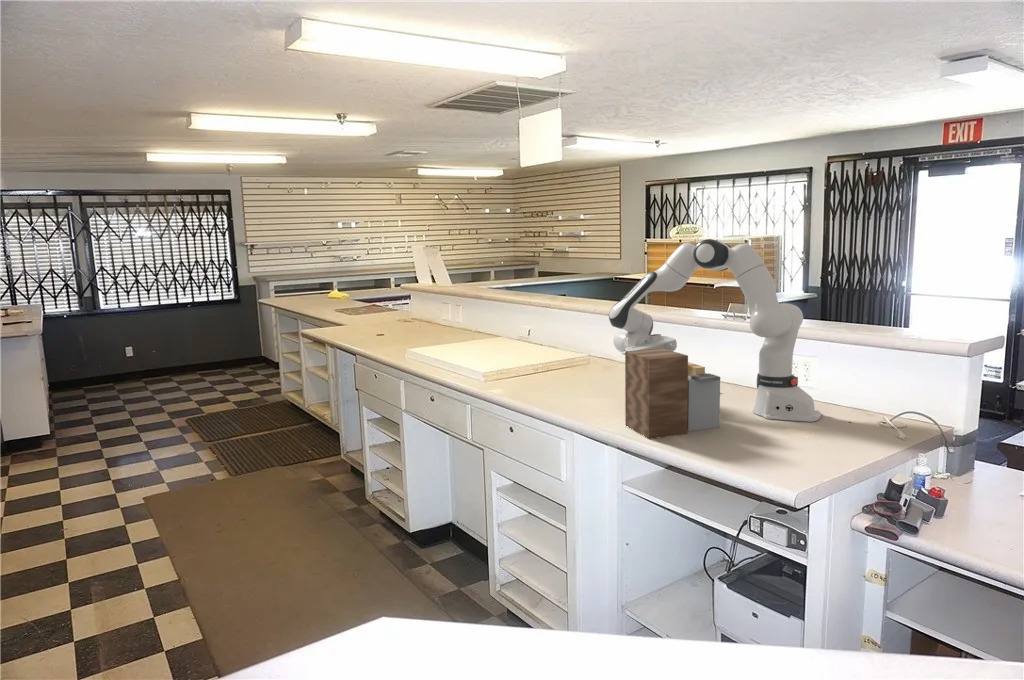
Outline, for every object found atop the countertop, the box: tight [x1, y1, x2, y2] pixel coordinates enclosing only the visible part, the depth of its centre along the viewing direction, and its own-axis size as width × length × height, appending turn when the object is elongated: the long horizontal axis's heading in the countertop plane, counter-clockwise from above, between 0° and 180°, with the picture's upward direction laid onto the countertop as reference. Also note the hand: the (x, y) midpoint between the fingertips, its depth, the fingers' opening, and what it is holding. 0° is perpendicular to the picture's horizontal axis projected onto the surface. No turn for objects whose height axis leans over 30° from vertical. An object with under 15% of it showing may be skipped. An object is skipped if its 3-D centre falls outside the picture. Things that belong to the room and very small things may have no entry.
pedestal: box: [624, 348, 689, 439], centre depth 219 cm, size 16×14×26 cm
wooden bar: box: [688, 361, 721, 382], centre depth 227 cm, size 28×7×4 cm, turn 18°
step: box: [687, 372, 721, 432], centre depth 226 cm, size 14×12×17 cm
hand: (663, 351), depth 242 cm, fingers open, 8 cm apart
